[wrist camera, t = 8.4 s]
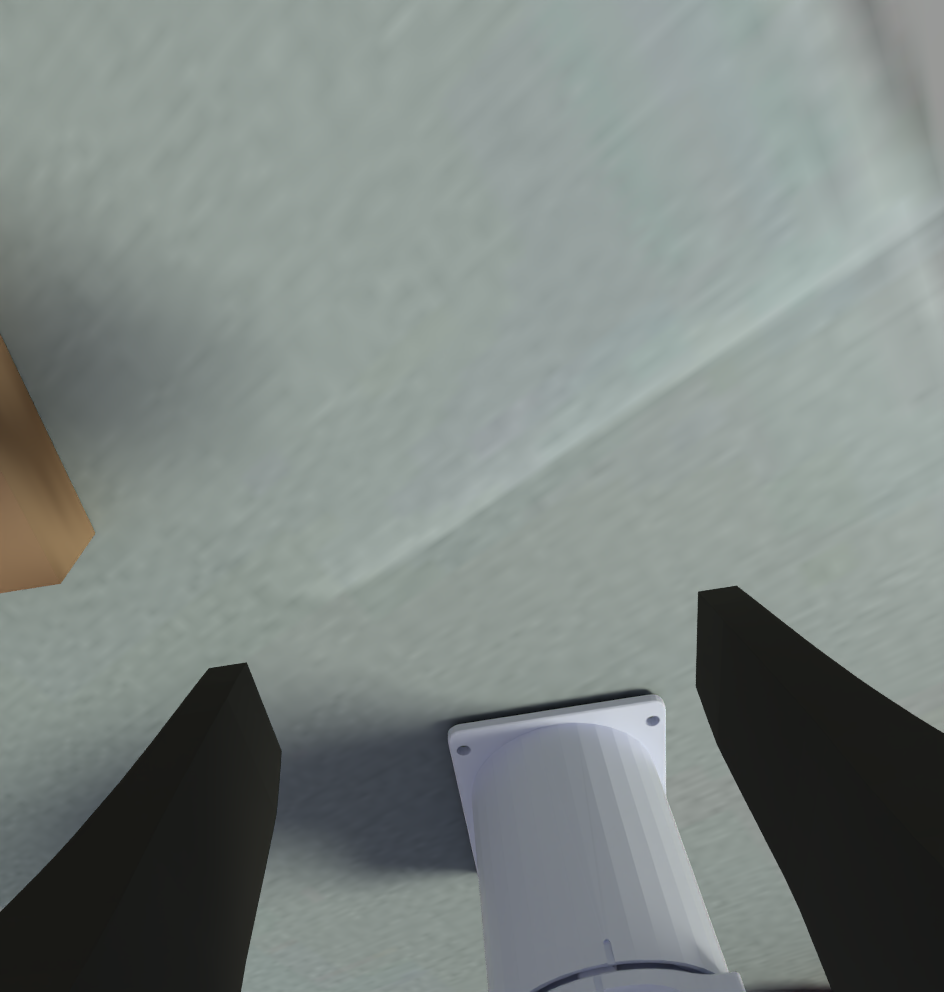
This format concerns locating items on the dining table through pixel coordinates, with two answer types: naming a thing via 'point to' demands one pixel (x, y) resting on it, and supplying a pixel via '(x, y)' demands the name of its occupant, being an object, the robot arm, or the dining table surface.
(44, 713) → the dining table surface
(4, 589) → the walnut block
